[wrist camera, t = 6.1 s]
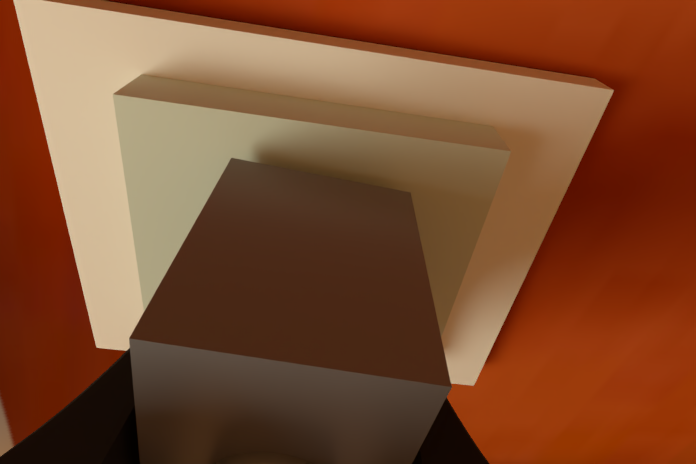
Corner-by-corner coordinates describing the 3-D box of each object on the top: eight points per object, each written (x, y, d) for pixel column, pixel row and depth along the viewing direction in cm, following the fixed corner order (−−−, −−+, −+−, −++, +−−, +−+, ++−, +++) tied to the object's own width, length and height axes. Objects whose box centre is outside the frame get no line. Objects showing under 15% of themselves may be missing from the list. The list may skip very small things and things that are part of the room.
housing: (410, 192, 12) (462, 438, 6) (353, 369, 15) (352, 623, 10) (230, 157, 11) (100, 387, 5) (218, 348, 15) (132, 601, 9)
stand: (467, 363, 21) (483, 422, 18) (109, 326, 19) (74, 384, 17) (594, 78, 14) (650, 112, 11) (39, -10, 12) (-40, 5, 10)
